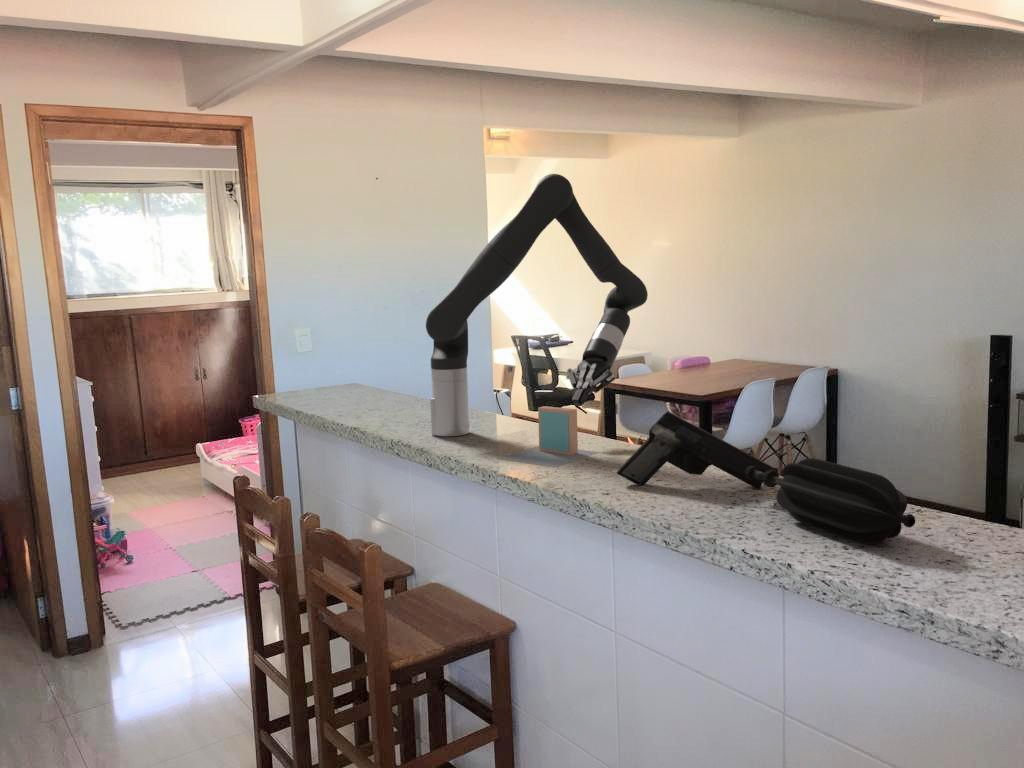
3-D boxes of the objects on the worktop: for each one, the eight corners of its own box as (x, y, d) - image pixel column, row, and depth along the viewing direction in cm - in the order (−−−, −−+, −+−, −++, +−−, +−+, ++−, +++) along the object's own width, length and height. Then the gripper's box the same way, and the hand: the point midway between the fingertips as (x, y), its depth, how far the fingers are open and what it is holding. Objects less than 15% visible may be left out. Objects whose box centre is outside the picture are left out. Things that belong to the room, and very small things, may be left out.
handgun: (731, 536, 157) (771, 468, 154) (616, 473, 160) (654, 405, 157) (730, 532, 159) (770, 465, 156) (617, 470, 162) (654, 403, 159)
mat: (496, 459, 186) (496, 458, 186) (541, 446, 199) (541, 444, 199) (555, 468, 176) (555, 467, 176) (599, 453, 189) (598, 452, 189)
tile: (538, 450, 192) (537, 407, 191) (545, 448, 194) (544, 406, 193) (571, 455, 187) (570, 410, 185) (577, 453, 189) (576, 409, 187)
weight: (936, 550, 119) (938, 481, 118) (885, 562, 115) (887, 491, 114) (771, 496, 150) (772, 441, 149) (726, 503, 146) (726, 447, 145)
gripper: (574, 336, 205) (546, 392, 197) (621, 337, 196) (594, 396, 189) (587, 355, 209) (560, 411, 201) (633, 357, 201) (607, 415, 193)
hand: (576, 404), depth 195 cm, fingers closed
